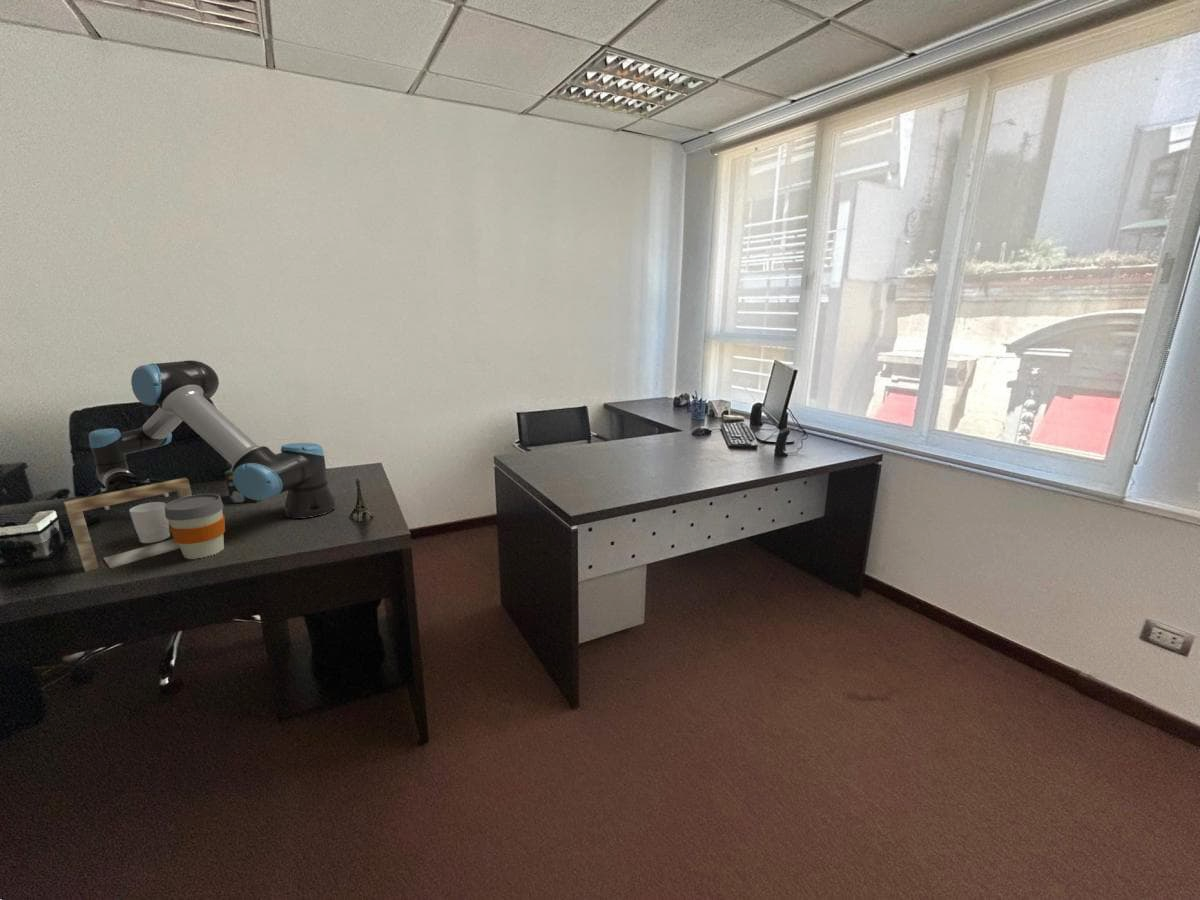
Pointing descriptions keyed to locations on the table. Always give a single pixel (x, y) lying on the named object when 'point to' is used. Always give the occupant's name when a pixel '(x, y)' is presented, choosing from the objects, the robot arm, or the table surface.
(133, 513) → the white cup
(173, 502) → the reusable coffee cup
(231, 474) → the chalk box
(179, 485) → the bridge
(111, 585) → the table surface
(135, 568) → the table surface
